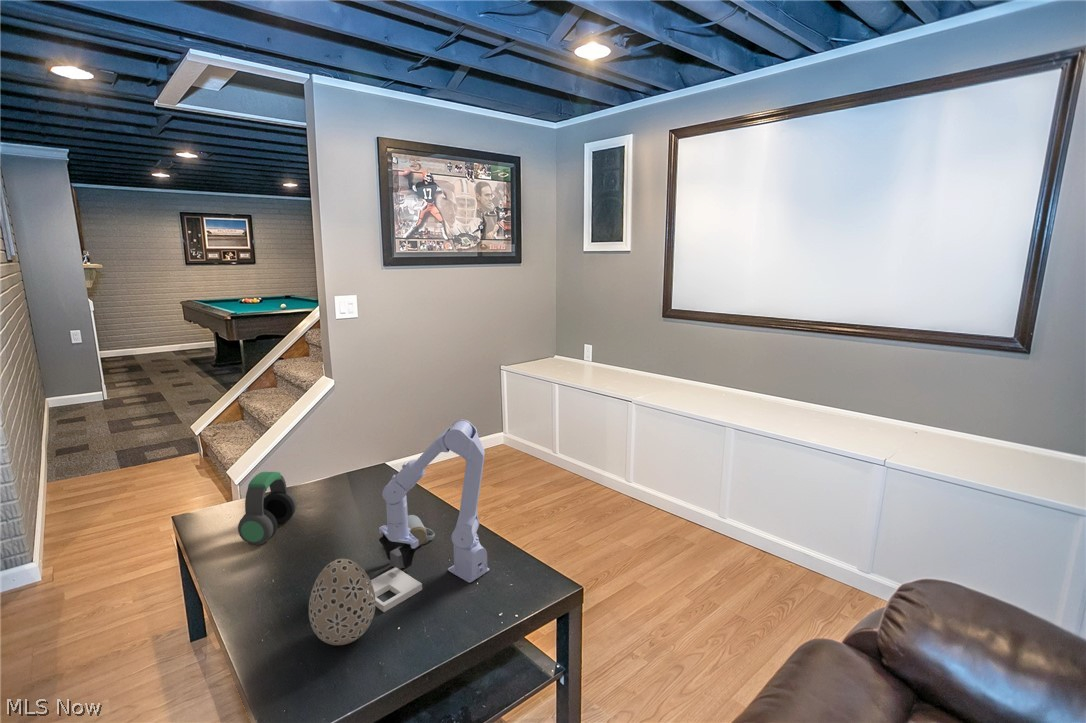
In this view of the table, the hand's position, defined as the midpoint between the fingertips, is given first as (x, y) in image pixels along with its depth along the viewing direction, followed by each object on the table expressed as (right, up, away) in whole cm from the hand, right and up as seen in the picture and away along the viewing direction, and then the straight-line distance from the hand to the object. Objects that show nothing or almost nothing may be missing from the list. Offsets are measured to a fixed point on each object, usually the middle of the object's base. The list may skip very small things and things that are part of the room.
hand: (399, 562), depth 153 cm
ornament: (-5, -7, -28) cm, 29 cm away
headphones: (-48, +3, +19) cm, 51 cm away
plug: (0, -1, 0) cm, 1 cm away
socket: (0, -4, -11) cm, 11 cm away
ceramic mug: (+2, +1, +14) cm, 14 cm away
